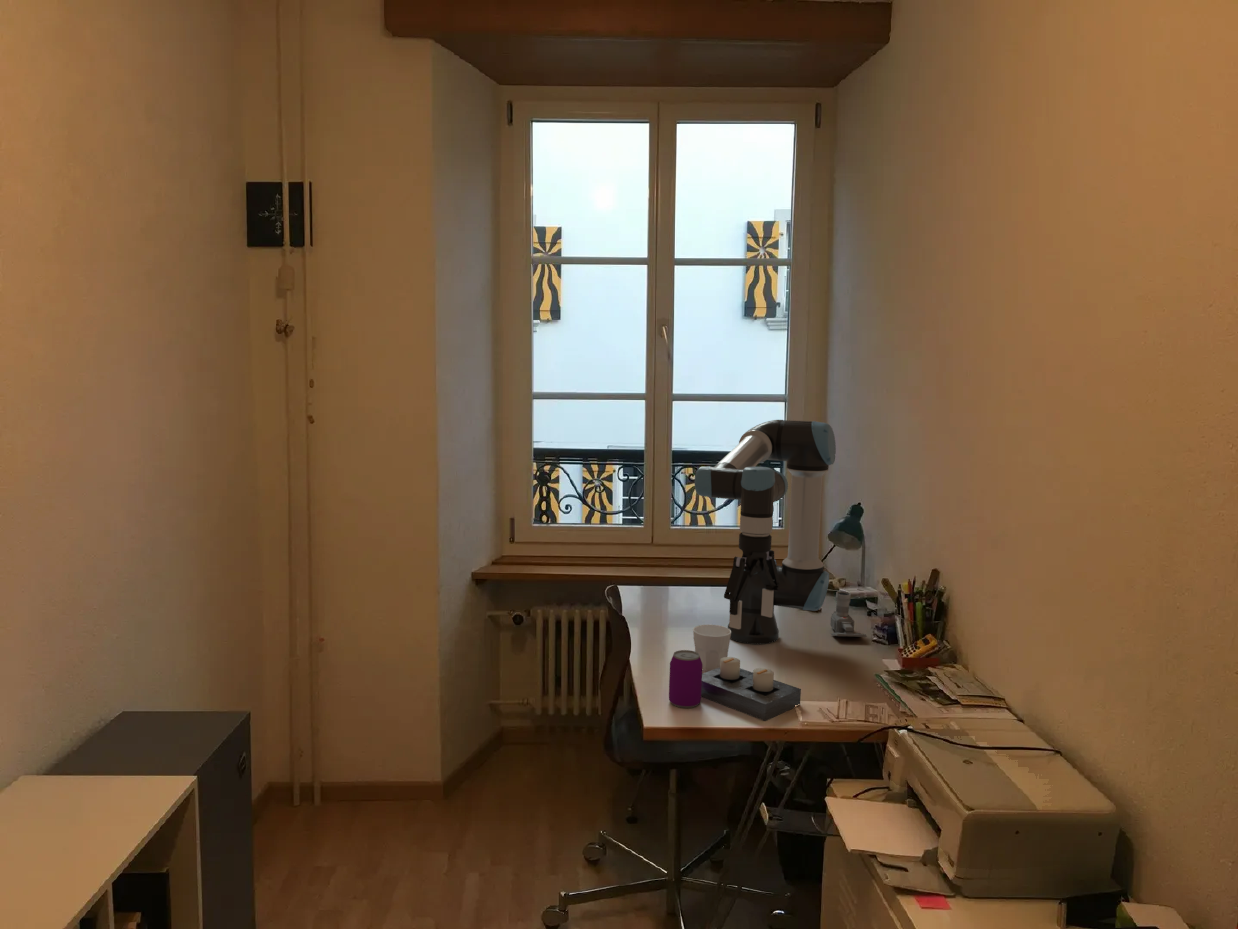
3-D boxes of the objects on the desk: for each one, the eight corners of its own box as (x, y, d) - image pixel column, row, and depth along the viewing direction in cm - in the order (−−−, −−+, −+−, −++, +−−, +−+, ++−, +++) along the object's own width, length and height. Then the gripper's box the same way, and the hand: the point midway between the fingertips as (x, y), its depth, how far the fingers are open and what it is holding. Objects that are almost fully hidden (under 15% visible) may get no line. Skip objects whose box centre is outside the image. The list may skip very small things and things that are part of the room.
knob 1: (728, 671, 217) (728, 654, 217) (743, 676, 214) (744, 659, 213) (715, 675, 214) (716, 659, 213) (731, 681, 211) (732, 664, 210)
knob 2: (760, 682, 210) (761, 665, 210) (777, 688, 207) (778, 671, 206) (748, 687, 207) (749, 670, 206) (765, 693, 203) (765, 675, 203)
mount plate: (727, 679, 224) (728, 664, 223) (800, 705, 208) (801, 689, 207) (691, 693, 214) (692, 677, 213) (764, 721, 198) (765, 704, 198)
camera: (854, 590, 268) (868, 605, 253) (852, 627, 270) (866, 644, 255) (826, 589, 268) (838, 604, 253) (824, 626, 270) (836, 643, 255)
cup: (690, 659, 238) (692, 624, 237) (727, 660, 238) (729, 625, 236) (692, 672, 228) (694, 635, 227) (731, 673, 228) (732, 637, 226)
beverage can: (664, 706, 205) (666, 657, 204) (674, 694, 212) (675, 647, 211) (695, 711, 203) (697, 662, 201) (704, 699, 210) (706, 651, 208)
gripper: (770, 524, 215) (766, 608, 217) (711, 537, 196) (707, 629, 199) (797, 529, 210) (792, 614, 213) (738, 543, 192) (734, 636, 194)
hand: (751, 622), depth 206 cm, fingers open, 13 cm apart
